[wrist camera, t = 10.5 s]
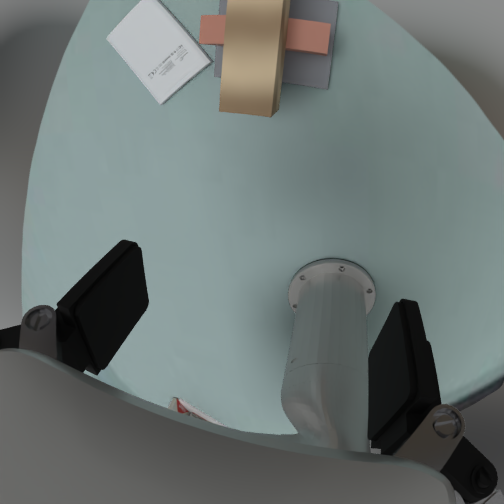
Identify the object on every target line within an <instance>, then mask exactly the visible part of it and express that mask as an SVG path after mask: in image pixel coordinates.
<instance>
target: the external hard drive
mask: <svg viewBox="0 0 504 504" xmlns="http://www.w3.org/2000/svg"><path fill="white" fill-rule="evenodd" d="M107 40H108V41H109V42H110V44H111V45H112V46H113V47H114V48H115V50H116V51H117V52H118V53H119V55H120V56H121V57H122V58H123V59H124V61H125V62H126V63H127V64H128V65H129V67H130V68H131V69H132V70H133V72H134V73H135V74H136V75H137V77H138V78H139V79H140V80H141V82H142V83H143V84H144V85H145V86H146V88H147V89H148V90H149V91H150V93H151V94H152V95H153V96H154V98H155V99H156V100H157V101H158V103H159V104H160V105H162V104H164V103H165V102H166V101H167V100H168V99H169V98H170V97H172V96H173V95H174V94H175V93H176V92H177V91H178V90H180V89H181V88H182V86H183V85H185V84H186V83H187V82H188V81H189V80H191V79H192V78H194V77H195V76H196V75H197V74H199V73H200V72H201V71H202V70H204V69H205V68H206V67H207V66H209V65H210V64H211V63H212V62H213V61H212V60H211V58H210V57H209V56H208V55H207V54H206V52H205V51H204V50H203V49H202V48H201V46H200V45H199V44H198V43H197V42H196V40H195V39H194V38H193V37H192V36H191V35H190V33H189V32H188V31H187V30H186V29H185V28H184V27H183V25H182V24H181V23H180V22H179V21H178V20H177V19H176V18H175V17H174V15H173V14H172V13H171V12H170V11H169V10H168V9H167V8H166V7H165V6H164V4H163V3H162V2H161V1H160V0H141V1H140V2H139V3H138V4H137V5H136V6H135V7H134V8H133V9H132V10H131V11H130V12H129V13H128V14H127V15H126V16H125V17H124V19H123V20H122V21H121V22H120V23H119V24H118V25H117V26H116V27H115V28H114V29H113V31H112V32H111V33H110V34H109V35H108V37H107Z"/></svg>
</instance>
